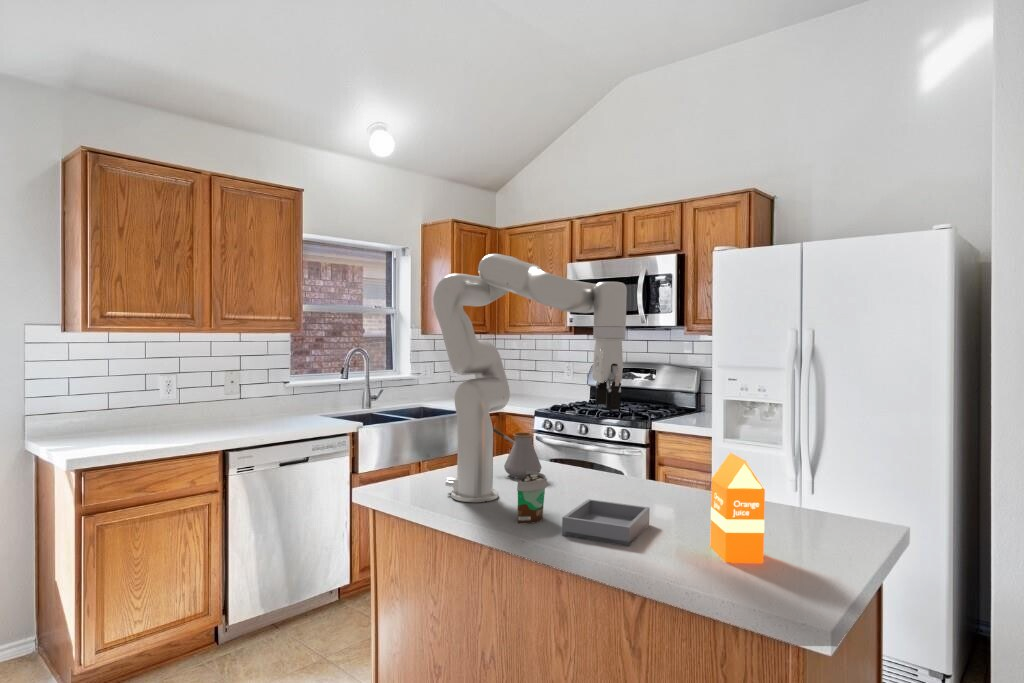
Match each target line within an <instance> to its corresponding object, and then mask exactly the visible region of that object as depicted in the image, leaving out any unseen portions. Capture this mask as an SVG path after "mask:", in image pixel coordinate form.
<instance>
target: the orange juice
mask: <svg viewBox="0 0 1024 683" xmlns="http://www.w3.org/2000/svg"><path fill="white" fill-rule="evenodd" d="M710 480H711V496H710V497H711V498H710V499H711V504H710V506H711V507H710V545H709V546H710V547H711V548H712V549H713V550H714V551H715V552H716V553H717V554H718V555H719V556H720V557H721V558H722V559H723V560H722V559H721V558H720V557H719V556H718V555H717V554H716V553H715V552H714V551H713V550H712V549H711V548H710V549H711V550H712V551H713V552H714V553H715V554H716V555H717V556H718V557H719V558H720V559H721V560H722V561H723V562H724V561H725V562H731V563H730V564H764V547H765V546H764V543H765V541H764V540H765V536H764V535H765V503H766V502H765V496H766V492H765V491H766V489H765V488H764V487H763V485H762V484H761V482H760V481H759V479H758V478H757V477H756V475H755V473H754V472H753V470H752V469H751V467H750V465H748V462H747V461H746V460H745V459H744V458H742V457H739V456H738V455H736V454H734V453H733V452H730V453H729V454H727V457H725V459H724V461H723V462H722V463H721V465H720V467H719V468H718V469H717V471H715V473H714V475H713V476H712V477H711V479H710ZM725 562H724V563H725Z"/></svg>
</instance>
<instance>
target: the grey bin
mask: <svg viewBox="0 0 1024 683" xmlns="http://www.w3.org/2000/svg"><path fill="white" fill-rule="evenodd" d="M650 511H651V510H650V507H648V506H643V505H642V506H641V505H633V504H627V503H618V502H611V501H604V500H600V499H598V500H597V499H591V498H587V499H586V500H585V501H584V502H582V503H581V504H579V505H578V506H576V507H575V508H574V509H572V510H570V511H569V512H568V513H566V514H565V515H563V516H562V521H561V522H562V523H561V524H562V525H561V536H563V537H570V538H576V539H583V540H588V541H593V542H600V543H605V544H611V545H618V546H625V547H631V545H632V544H633V543H634V542H635V541H636V539H638V538H639V537H640V536H641V534H642V533H643V532H644V531H645V530H646V529H647V528H648V527H649V526H648V525H650V516H651V515H650V514H651V513H650ZM647 526H648V527H647ZM646 527H647V528H646Z"/></svg>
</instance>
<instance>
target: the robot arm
mask: <svg viewBox="0 0 1024 683" xmlns="http://www.w3.org/2000/svg"><path fill="white" fill-rule="evenodd" d="M477 271H478V272H477V273H478V275H473V274H472V275H471V274H467V273H451V274H448V275H445V276H444V277H443V278H442V279H441V280H440V281H438V282H437V285H436V287H435V289H434V293H433V297H432V298H433V299H432V303H433V310H434V313H435V317H436V319H437V321H438V324H439V327H440V330H441V334H442V338H443V339H442V340H443V342H444V347H445V350H446V354H447V356H448V361H449V364H450V366H451V369H452V370H453V372H454V373H456V374H457V375H459V376H473V375H474V377H475V378H471V379H467V380H465V381H463V382H461V383H460V384H459V385H457V386H458V387H457V388H456V390H455V393H454V400H453V401H454V407H455V413H456V420H457V421H456V422H457V462H456V464H457V466H456V467H457V468H456V469H457V470H456V471H457V472H456V475H457V476H456V477H457V478H453V477H447V478H446V479H445V480H446V481H445V486H446V487H452V488H453V489H452V490H451V493H450V494H451V495H450V497H451V498H452V499H453V500H456V501H458V502H464V503H485V501H487V502H491V501H494V500H496V499H497V498H498V497H499V491H498V490H496V489H495V488H493V486H494V485H493V484H494V483H493V482H494V481H493V479H494V471H493V470H494V432H493V428H494V427H493V423H492V419H491V416H490V413H492V412H498V411H501V410H502V409H504V408H505V407H506V406H507V404H509V401H510V397H511V396H510V395H511V391H510V390H511V389H510V386H509V382H508V379H507V375H506V372H505V367H504V365H503V361H502V357H501V355H500V352H499V350H498V348H496V346H495V345H494V344H493V343H492V342H490V341H488V340H484V339H477V336H476V333H475V330H474V326H473V323H472V321H471V319H470V317H469V315H468V314H467V313H466V311H465V309H464V306H466V307H484V306H486V305H487V306H488V305H490V304H491V303H493V302H495V301H496V300H498V299H500V298H502V297H503V296H505V295H506V294H508V293H512V294H515V295H518V296H520V297H524V298H526V299H528V300H532V301H534V302H536V303H539V304H542V305H543V306H544V305H545V306H547V307H550V308H553V309H556V310H559V311H563V312H566V313H577V314H578V313H579V314H591V313H593V326H592V329H593V331H592V332H593V333H592V334H593V335H592V340H593V341H595V343H594V351H593V360H592V362H593V364H592V365H593V366H592V379H593V381H595V382H596V383H595V404H596V405H605V409H606V410H609V411H620V410H621V401H622V399H621V398H622V397H621V396H622V395H621V393H622V388H621V386H622V381H623V370H624V369H623V365H624V363H623V360H624V359H623V342H626V334H627V333H626V328H627V324H626V323H627V294H628V293H627V289H628V288H627V286H626V284H625V283H624V282H620V281H599V282H597V283H594V282H593V283H591V282H585V281H580V280H576V279H575V280H574V279H571V278H570V279H569V278H565V277H564V276H563V277H562V276H560V275H556V274H553V273H550V272H547V271H544V270H542V268H541V267H540V266H539V265H537V264H535V263H529V262H527V261H523V260H520V259H519V258H517V257H515V256H510V255H504V254H500V253H489V254H487V255H485V256H484V257H483V258H481V260H480V261H479V264H478V267H477Z"/></svg>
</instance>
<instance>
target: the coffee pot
mask: <svg viewBox="0 0 1024 683" xmlns="http://www.w3.org/2000/svg"><path fill="white" fill-rule="evenodd" d="M493 433H495V434H496V435H498V436H500V437H501V438H504V439H505V440H506V441H508V442H510V443H512V447H511V449H510V451H509V454H508V457H507V459H506V461H505V463H504V470H505V472H506V473H507V474H508V475H509V477H511V476H512V477H511V478H513V477H516V478H515V479H518V478H524V477H526V471H533V472H538V473H541V470H542V464H541V462H540V460H539V458H538V455H537V453H536V452H537V451H536V449H535V447H534V444H533V442H532V440H533V437H534V434H533V433H531V432H516V433H512V436H513V438H514V440H513V439H512V438H510V437H509V436H507V435H505V434H504V433H503V432H501V431H500V430H499V429H497V428H495V427H493Z"/></svg>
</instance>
